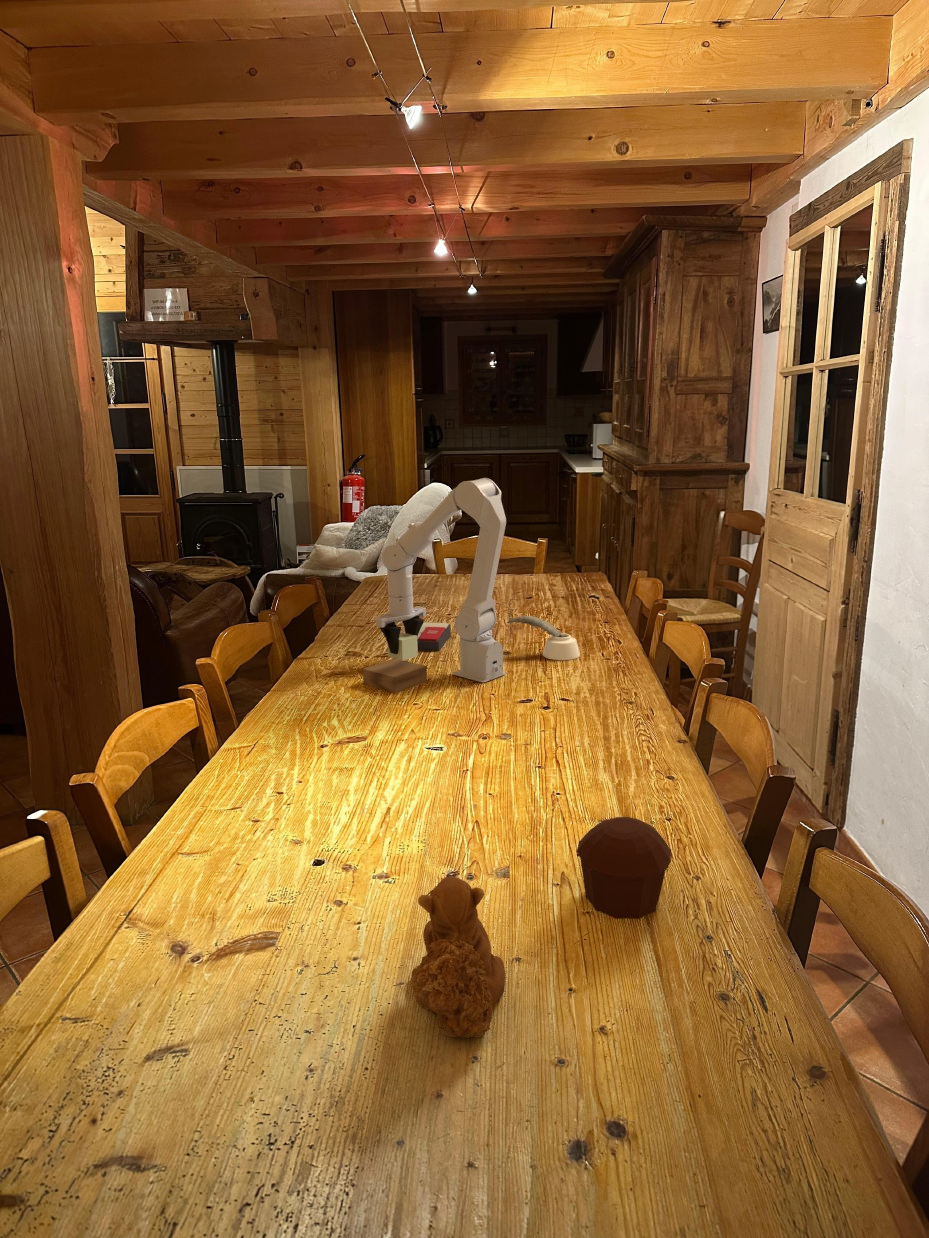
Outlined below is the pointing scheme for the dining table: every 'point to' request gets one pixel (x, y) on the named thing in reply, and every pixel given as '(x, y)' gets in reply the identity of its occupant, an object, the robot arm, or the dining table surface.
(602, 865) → the muffin
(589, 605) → the dining table surface
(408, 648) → the sage cube
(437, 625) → the red cream box
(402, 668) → the walnut riser
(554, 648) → the inkwell
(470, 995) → the stuffed squirrel
